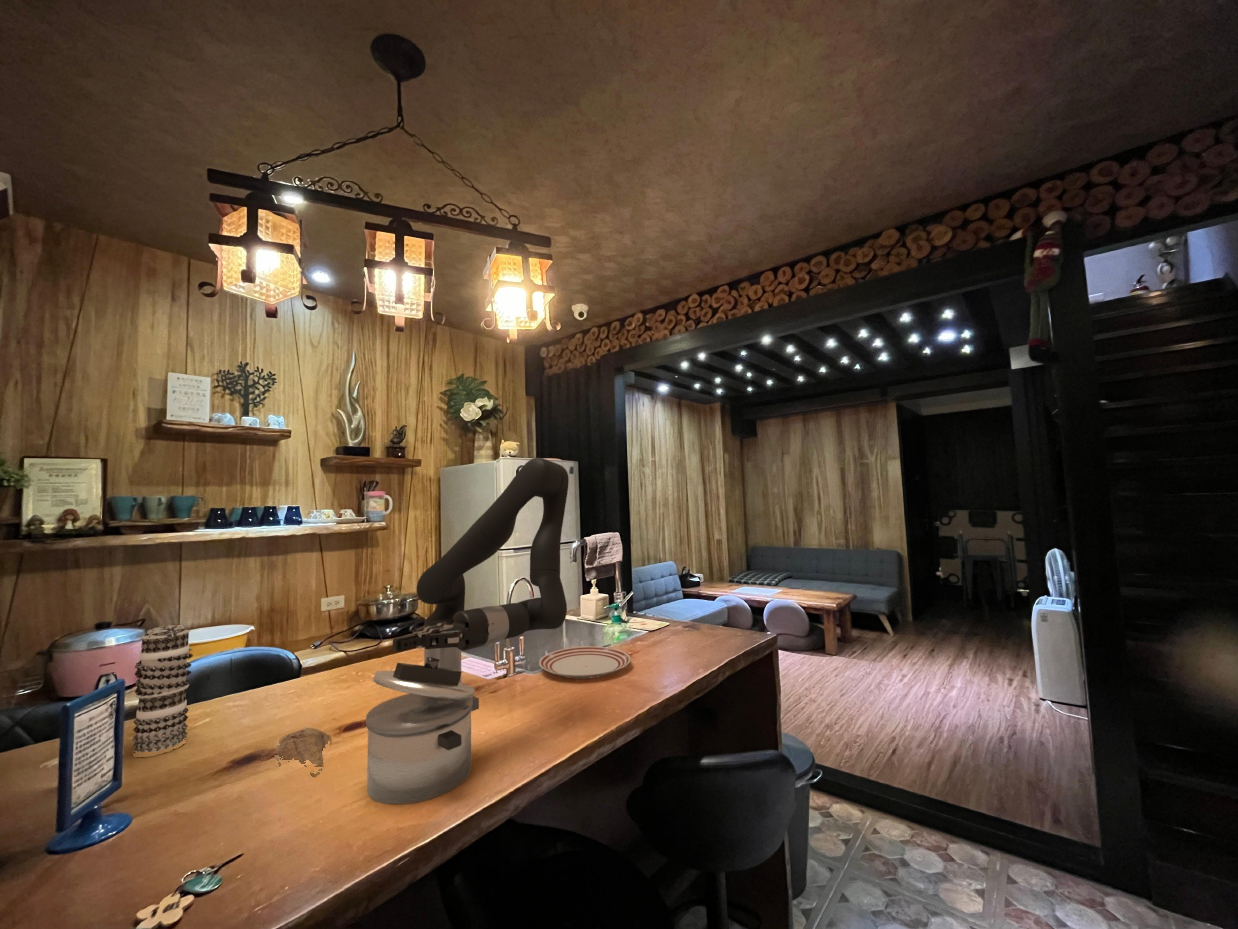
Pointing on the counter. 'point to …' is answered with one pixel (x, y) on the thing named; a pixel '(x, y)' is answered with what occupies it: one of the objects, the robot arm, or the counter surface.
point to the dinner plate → (584, 661)
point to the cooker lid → (425, 680)
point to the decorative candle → (162, 689)
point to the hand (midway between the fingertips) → (394, 645)
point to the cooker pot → (418, 747)
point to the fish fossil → (303, 747)
